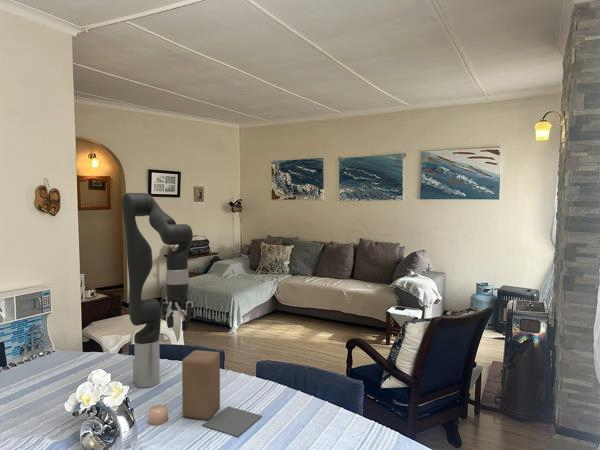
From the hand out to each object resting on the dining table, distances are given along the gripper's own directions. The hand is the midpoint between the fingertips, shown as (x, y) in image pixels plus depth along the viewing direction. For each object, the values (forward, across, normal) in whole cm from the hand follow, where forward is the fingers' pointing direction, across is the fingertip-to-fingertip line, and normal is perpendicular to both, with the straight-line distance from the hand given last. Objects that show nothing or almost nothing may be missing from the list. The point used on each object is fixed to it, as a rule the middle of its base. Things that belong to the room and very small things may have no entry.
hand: (177, 328), depth 149 cm
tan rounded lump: (+28, +2, -11) cm, 30 cm away
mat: (+27, +24, 0) cm, 36 cm away
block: (+28, +11, 0) cm, 30 cm away
